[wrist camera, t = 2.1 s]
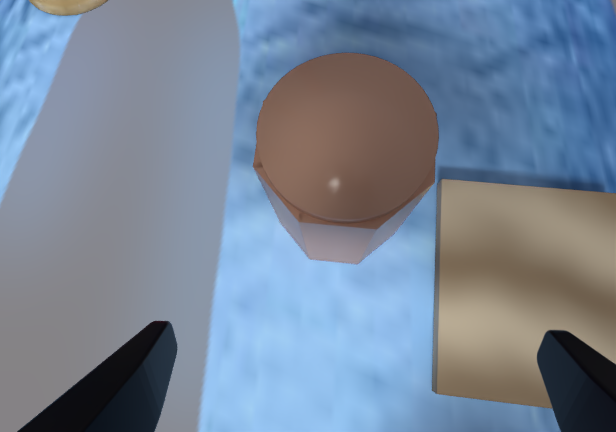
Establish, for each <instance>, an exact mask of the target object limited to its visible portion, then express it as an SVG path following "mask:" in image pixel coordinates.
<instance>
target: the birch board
mask: <svg viewBox="0 0 616 432" xmlns="http://www.w3.org/2000/svg"><path fill="white" fill-rule="evenodd" d="M548 330H566V331H569V332H570V333H572V334H573V335H575V336H576V337H577V338H579V339H580V340H582V341H583V342H585V343H586V344H587V345H589V346H590V347H592V348H593V349H595V350H596V351H597V352H599V353H600V354H602V355H603V356H605V357H606V358H607V359H609V360H610V361H612V362H613V363H615V364H616V193H604V192H592V191H581V190H569V189H557V188H545V187H533V186H521V185H509V184H497V183H485V182H474V181H462V180H450V179H441V181H440V182H439V183H438V184H437V215H436V254H435V293H434V332H433V371H432V391H433V392H435V393H436V394H441V395H449V396H457V397H465V398H473V399H481V400H489V401H497V402H505V403H513V404H521V405H529V406H537V407H545V408H552V405H551V402H550V399H549V396H548V393H547V390H546V387H545V384H544V381H543V378H542V376H541V373H540V370H539V367H538V363H537V352H538V350H539V347H540V345H541V342H542V340H543V337H544V335H545V333H546V332H547V331H548Z"/></svg>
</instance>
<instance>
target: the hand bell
mask: <svg viewBox="0 0 616 432" xmlns="http://www.w3.org/2000/svg"><path fill="white" fill-rule="evenodd" d="M29 1H30V2H31V3H32V4H33V5H34V6H35V7H37V8H38V9H40V10H42V11H44V12H46V13H50V14H54V15H63V16H66V15H78V14H81V13H85V12H88V11H91V10H93V9H95V8H97V7H99V6H101V5H102V4H104V3H105V2H107V1H108V0H29Z"/></svg>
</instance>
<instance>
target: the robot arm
mask: <svg viewBox="0 0 616 432" xmlns="http://www.w3.org/2000/svg"><path fill="white" fill-rule="evenodd" d="M176 355H177V342H176V338H175V334H174V331H173V327H172V324H171V323H170V322H169V321H153V322H151V323H150V324H149V325H147V326H146V327H145V328H144V329H143V330H141V331H140V332H139V333H138V334H137V335H135V336H134V337H133V338H132V339H130V340H129V341H128V342H127V343H125V344H124V345H123V346H122V347H120V348H119V349H118V350H117V351H116V352H114V353H113V354H112V355H111V356H109V357H108V358H107V359H106V360H105V361H103V362H102V363H101V364H100V365H98V366H97V367H96V368H95V369H93V370H92V371H91V372H90V373H89V374H87V375H86V376H85V377H84V378H83V379H81V380H80V381H79V382H77V383H76V384H75V385H74V386H73V387H71V388H70V389H69V390H68V391H67V392H65V393H64V394H63V395H61V396H60V397H59V398H58V399H57V400H55V401H54V402H53V403H52V404H50V405H49V406H48V407H47V408H46V409H44V410H43V411H42V412H41V413H39V414H38V415H37V416H36V417H35V418H33V419H32V420H31V421H30V422H28V423H27V424H26V425H25V426H23V427H22V428H21V429H20V430H18V431H17V432H154V431H155V429H156V426H157V423H158V420H159V418H160V415H161V411H162V408H163V404H164V401H165V397H166V393H167V389H168V385H169V381H170V378H171V374H172V370H173V366H174V362H175V358H176ZM537 363H538V367H539V370H540V373H541V376H542V378H543V381H544V384H545V387H546V390H547V393H548V396H549V399H550V402H551V405H552V408H553V411H554V414H555V417H556V420H557V422H558V425H559V428H560V430H561V432H616V364H615V363H613V362H612V361H610V360H609V359H607V358H606V357H605V356H603V355H602V354H600V353H599V352H597V351H596V350H595V349H593V348H592V347H590V346H589V345H587V344H586V343H585V342H583V341H582V340H580V339H579V338H577V337H576V336H575V335H573V334H572V333H570V332H569V331H566V330H548V331H547V332H546V333H545V335H544V337H543V340H542V342H541V345H540V347H539V350H538V352H537Z"/></svg>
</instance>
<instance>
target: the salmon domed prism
mask: <svg viewBox="0 0 616 432" xmlns="http://www.w3.org/2000/svg"><path fill="white" fill-rule="evenodd" d="M436 116H437V114H436V113H435V111H434V108H433V105H432V103H431V102H430V100H429V98H428V96H427V94H426V93H425V91H424V90H423V89H422V87H421V86H420V85H419V84H418V83H417V82H416V80H415V79H414V78H412V77H411V76H410V75H409V74H408V73H407V72H405V71H404V70H402V69H401V68H399V67H398V66H396V65H394V64H392V63H390V62H388V61H386V60H383V59H380V58H378V57H374V56H370V55H366V54H359V53H336V54H329V55H325V56H320V57H317V58H314V59H311V60H309V61H307V62H305V63H303V64H301V65H299V66H297V67H296V68H294V69H292V70H291V71H290V72H288V73H287V74H286V75H285V76H284V77H282V78H281V79H280V80H279V81H278V83H277V84H276V85H275V86H274V87H273V88H272V90H271V91H270V93H269V94H268V96H267V98H266V99H265V100H264V101H263V106H262V108H261V111H260V113H259V118H258V122H257V131H256V139H257V144H256V150H255V157H254V163H253V168H254V170H255V172H256V174H257V176H258V178H259V180H260V182H261V184H262V186H263V188H264V190H265V193H266V195H267V197H268V199H269V201H270V203H271V205H272V207H273V209H274V211H275V213H276V215H277V217H278V219H279V221H280V223H281V225H282V226H283V227H284V228H285V230H286V231H287V232H288V233H289V234H290V236H291V237H292V238H293V239H294V241H295V242H296V243H297V244H298V246H299V247H300V248H301V249H302V250H303V252H304V253H305V254H306V255H307V257H308V258H309V259H311V260H321V261H331V262H341V263H351V264H359V263H360V262H361V261H362V260H363V259H365V258H366V257H367V256H368V255H370V254H371V253H372V252H373V251H374V250H376V249H377V248H378V247H379V246H380V245H382V244H383V243H384V242H385V241H386V240H388V239H389V238H390V237H391V236H393V235H394V234H395V232H396V231H397V230H398V229H399V227H400V226H401V225H402V223H403V222H404V221H405V220H406V218H407V217H408V216H409V214H410V213H411V212H412V211H413V209H414V208H415V207H416V205H417V204H418V203H419V202H420V200H421V199H422V198H423V196H424V195H425V194H426V193H427V191H428V190H429V189H430V188H431V186H432V185H433V184H434V182H435V157H436V153H437V149H438V140H439V132H438V123H437V118H436Z"/></svg>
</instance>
